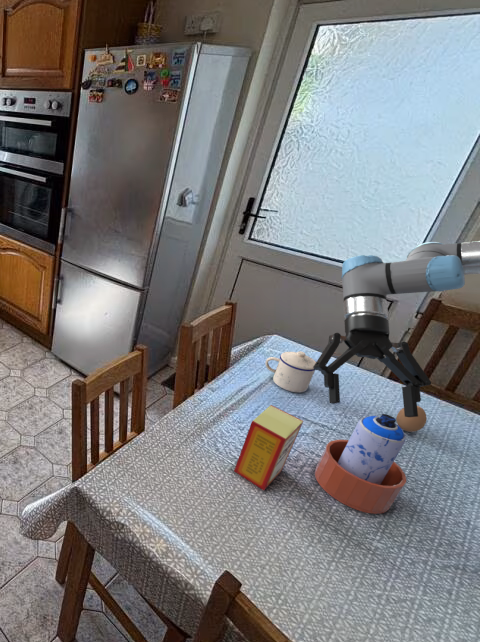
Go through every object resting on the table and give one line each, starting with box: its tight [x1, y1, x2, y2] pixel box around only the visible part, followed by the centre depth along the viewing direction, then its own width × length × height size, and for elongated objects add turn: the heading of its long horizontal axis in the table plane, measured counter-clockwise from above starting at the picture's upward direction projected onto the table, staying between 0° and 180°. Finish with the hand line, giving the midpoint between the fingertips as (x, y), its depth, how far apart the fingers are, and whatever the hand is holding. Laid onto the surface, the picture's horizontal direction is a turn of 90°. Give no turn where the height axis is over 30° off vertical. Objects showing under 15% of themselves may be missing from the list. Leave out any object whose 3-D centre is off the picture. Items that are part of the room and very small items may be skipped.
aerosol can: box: [338, 413, 407, 485], centre depth 89 cm, size 8×8×20 cm
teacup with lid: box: [264, 350, 317, 394], centre depth 126 cm, size 12×9×12 cm
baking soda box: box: [233, 404, 304, 491], centre depth 95 cm, size 10×6×16 cm
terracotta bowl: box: [314, 439, 407, 515], centre depth 92 cm, size 13×13×8 cm
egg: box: [395, 405, 428, 433], centre depth 108 cm, size 5×5×8 cm
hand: (372, 409), depth 91 cm, fingers open, 13 cm apart
